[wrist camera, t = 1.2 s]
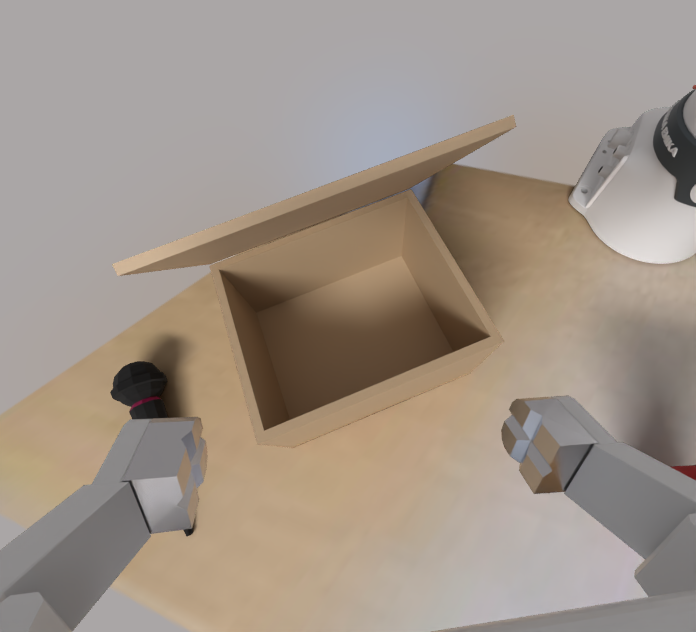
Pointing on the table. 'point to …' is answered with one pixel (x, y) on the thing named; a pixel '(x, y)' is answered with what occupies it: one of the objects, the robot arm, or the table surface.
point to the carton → (348, 320)
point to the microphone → (141, 393)
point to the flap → (312, 205)
